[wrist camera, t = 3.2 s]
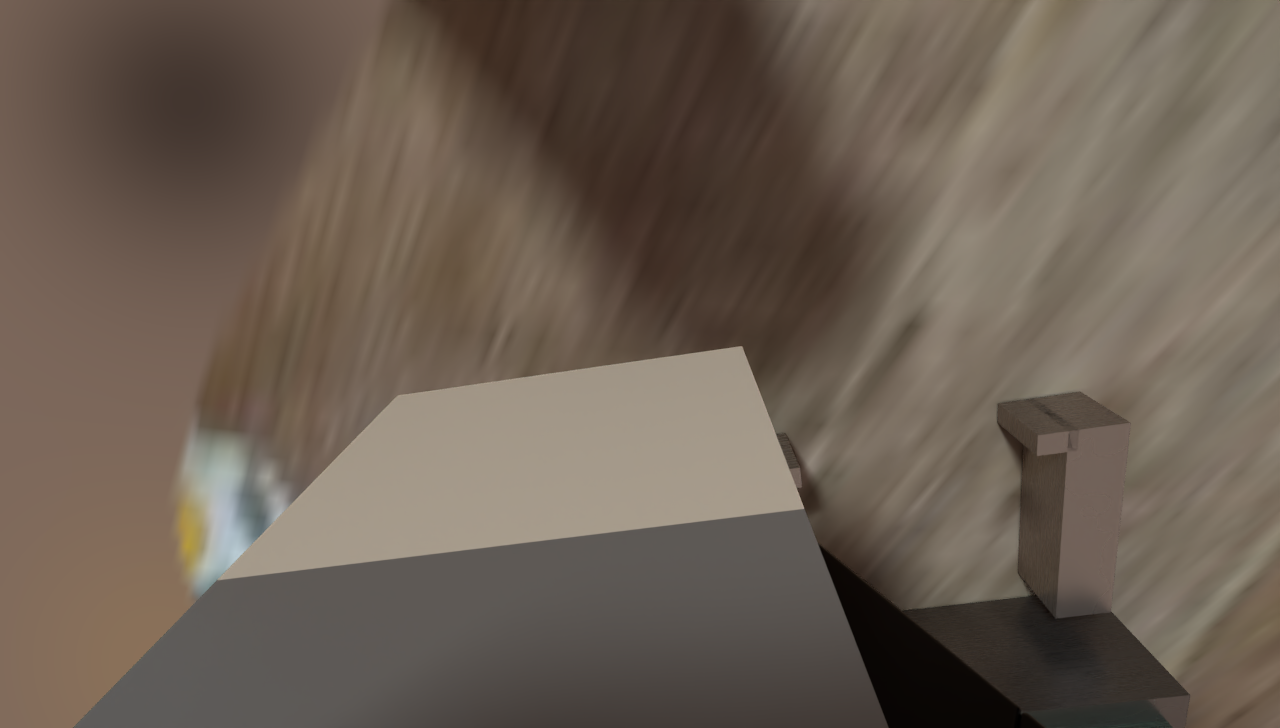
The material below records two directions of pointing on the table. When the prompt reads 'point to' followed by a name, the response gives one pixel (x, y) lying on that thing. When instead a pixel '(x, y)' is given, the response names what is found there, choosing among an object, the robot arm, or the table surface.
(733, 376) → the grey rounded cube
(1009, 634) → the knobbed block assembly
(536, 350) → the table surface
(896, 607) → the robot arm
